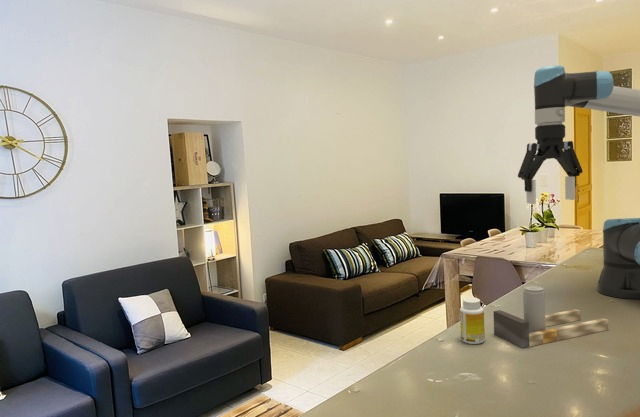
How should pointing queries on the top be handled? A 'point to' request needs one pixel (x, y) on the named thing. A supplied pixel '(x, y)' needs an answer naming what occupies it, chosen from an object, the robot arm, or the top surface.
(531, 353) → the top surface
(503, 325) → the guide channel
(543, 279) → the top surface
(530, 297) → the beverage can
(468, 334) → the supplement bottle
